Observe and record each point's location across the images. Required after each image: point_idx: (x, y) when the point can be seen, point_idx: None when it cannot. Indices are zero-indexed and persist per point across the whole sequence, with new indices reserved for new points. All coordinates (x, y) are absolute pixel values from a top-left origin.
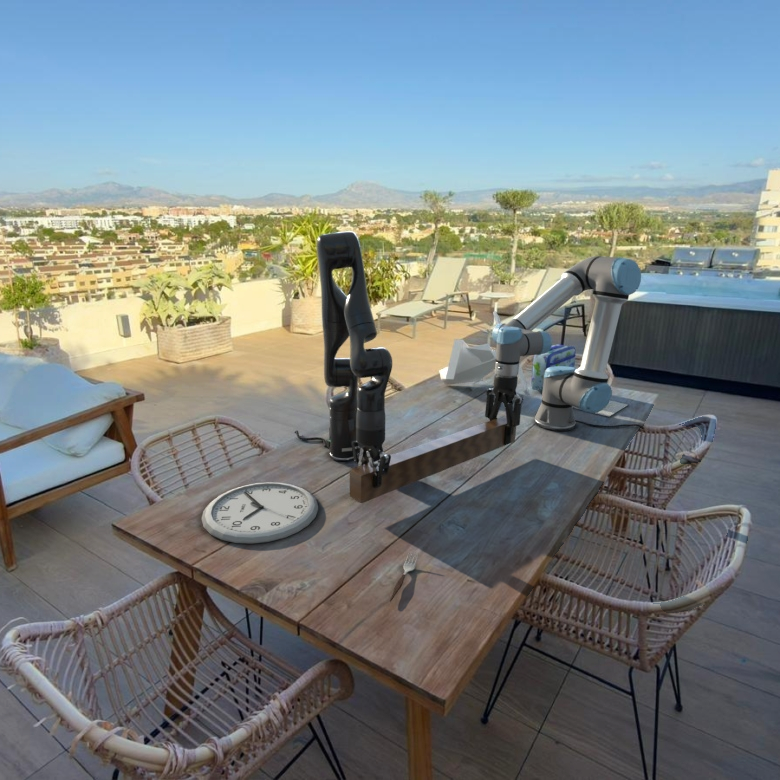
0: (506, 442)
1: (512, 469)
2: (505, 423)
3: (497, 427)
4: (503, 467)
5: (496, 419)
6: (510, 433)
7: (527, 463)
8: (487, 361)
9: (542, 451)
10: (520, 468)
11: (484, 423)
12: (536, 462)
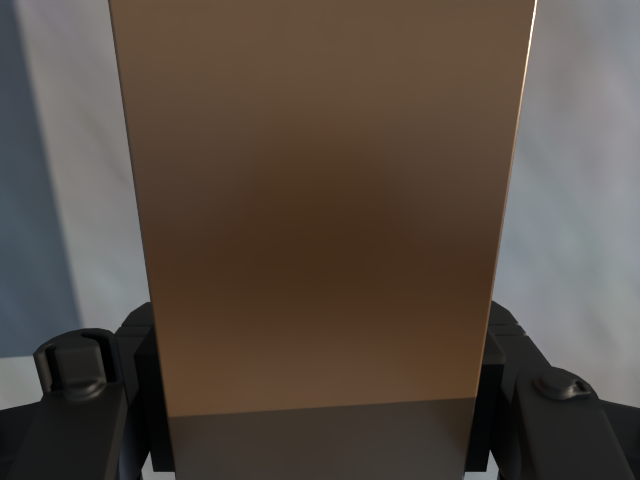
0: None
1: (23, 44)
2: (178, 403)
3: (130, 112)
4: (94, 11)
5: (438, 436)
6: (125, 323)
7: (54, 242)
8: None
9: (150, 467)
10: (7, 119)
11: (497, 21)
12: (35, 305)
